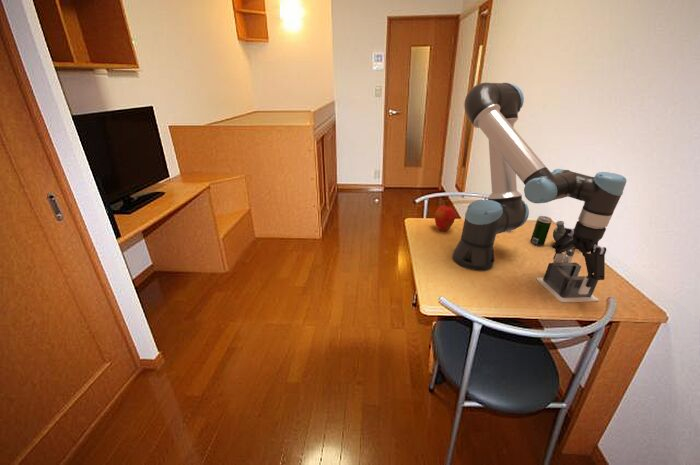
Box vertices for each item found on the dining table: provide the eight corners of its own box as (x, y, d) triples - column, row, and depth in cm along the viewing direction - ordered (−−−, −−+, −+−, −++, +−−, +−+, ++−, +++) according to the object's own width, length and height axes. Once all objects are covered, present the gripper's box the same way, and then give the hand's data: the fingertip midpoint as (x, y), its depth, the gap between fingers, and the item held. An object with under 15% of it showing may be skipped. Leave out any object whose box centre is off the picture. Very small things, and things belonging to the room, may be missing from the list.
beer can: (541, 247, 135) (550, 221, 130) (528, 243, 139) (535, 217, 133) (545, 243, 139) (554, 218, 133) (532, 239, 142) (540, 214, 137)
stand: (561, 273, 118) (569, 252, 114) (554, 266, 121) (561, 246, 118) (573, 273, 118) (581, 252, 114) (564, 266, 122) (572, 246, 118)
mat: (560, 302, 102) (561, 301, 102) (536, 279, 113) (536, 277, 113) (598, 301, 103) (599, 299, 103) (570, 278, 115) (570, 277, 114)
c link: (562, 297, 103) (569, 279, 100) (542, 280, 112) (548, 263, 109) (590, 296, 104) (598, 279, 101) (569, 279, 113) (576, 262, 110)
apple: (430, 225, 152) (433, 201, 147) (448, 225, 153) (452, 201, 148) (436, 234, 144) (440, 209, 139) (455, 233, 145) (460, 209, 140)
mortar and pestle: (564, 241, 142) (573, 216, 136) (581, 251, 133) (591, 225, 128) (541, 241, 140) (550, 216, 135) (556, 252, 132) (566, 226, 127)
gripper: (639, 243, 87) (607, 304, 96) (574, 208, 109) (553, 260, 118) (614, 243, 86) (584, 305, 96) (553, 208, 108) (534, 261, 118)
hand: (567, 281), depth 107 cm, fingers open, 13 cm apart
